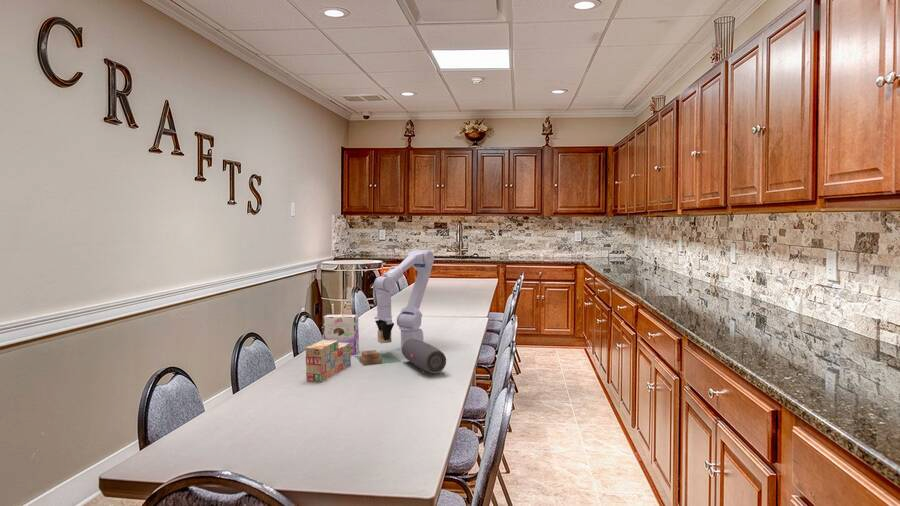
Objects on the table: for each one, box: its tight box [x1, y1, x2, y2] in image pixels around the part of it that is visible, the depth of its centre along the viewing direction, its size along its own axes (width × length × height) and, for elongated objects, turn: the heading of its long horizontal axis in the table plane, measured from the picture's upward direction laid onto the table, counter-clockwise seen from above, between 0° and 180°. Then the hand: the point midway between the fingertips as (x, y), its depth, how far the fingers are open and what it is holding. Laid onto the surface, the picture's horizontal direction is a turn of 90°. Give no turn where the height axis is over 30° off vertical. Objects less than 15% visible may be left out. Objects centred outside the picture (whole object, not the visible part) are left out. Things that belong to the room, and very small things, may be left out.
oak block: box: [377, 329, 393, 344], centre depth 225 cm, size 4×4×4 cm
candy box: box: [322, 314, 360, 356], centre depth 231 cm, size 14×6×16 cm, turn 84°
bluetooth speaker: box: [401, 339, 447, 374], centre depth 207 cm, size 23×9×10 cm, turn 27°
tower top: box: [361, 349, 379, 360], centre depth 215 cm, size 6×6×2 cm
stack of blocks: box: [305, 339, 352, 383], centre depth 202 cm, size 21×6×12 cm, turn 162°
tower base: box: [359, 355, 382, 366], centre depth 216 cm, size 7×7×2 cm
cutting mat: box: [354, 352, 402, 367], centre depth 221 cm, size 15×16×1 cm
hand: (384, 338), depth 225 cm, fingers closed on oak block, 4 cm apart
